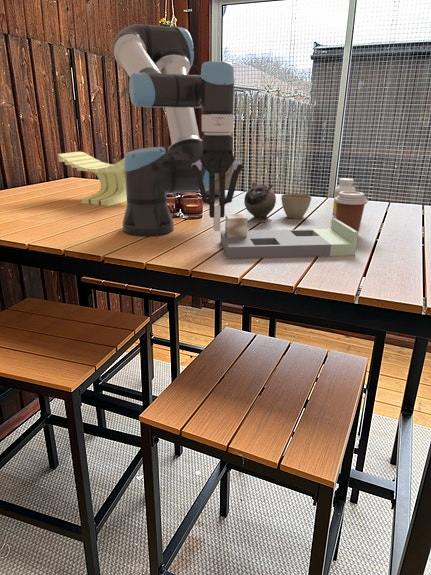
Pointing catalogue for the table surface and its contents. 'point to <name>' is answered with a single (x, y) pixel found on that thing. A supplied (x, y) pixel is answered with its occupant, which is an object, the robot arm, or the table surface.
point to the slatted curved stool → (100, 177)
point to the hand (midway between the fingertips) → (216, 229)
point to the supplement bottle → (344, 185)
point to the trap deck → (292, 243)
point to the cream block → (236, 225)
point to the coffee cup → (350, 208)
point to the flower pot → (295, 205)
